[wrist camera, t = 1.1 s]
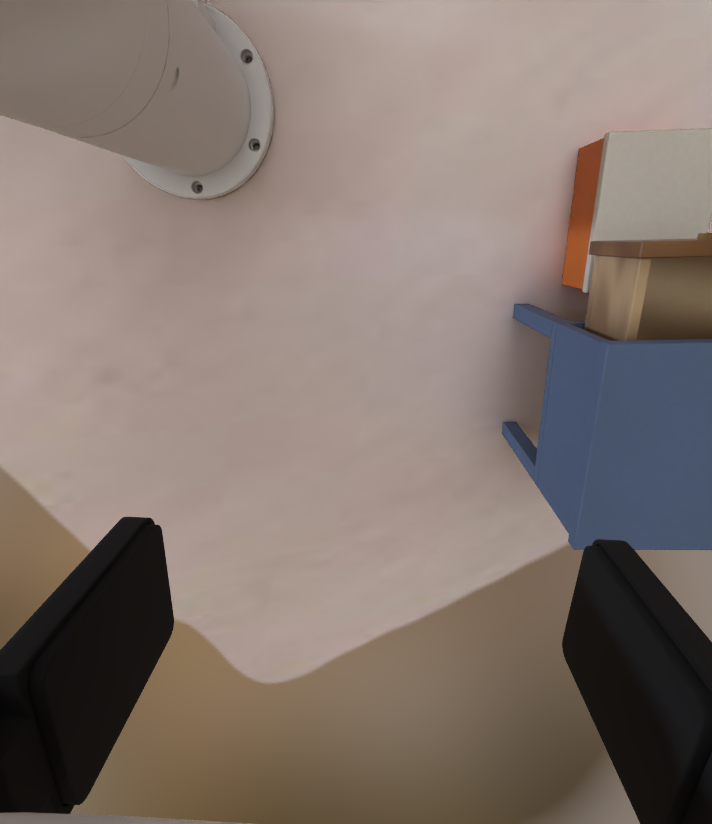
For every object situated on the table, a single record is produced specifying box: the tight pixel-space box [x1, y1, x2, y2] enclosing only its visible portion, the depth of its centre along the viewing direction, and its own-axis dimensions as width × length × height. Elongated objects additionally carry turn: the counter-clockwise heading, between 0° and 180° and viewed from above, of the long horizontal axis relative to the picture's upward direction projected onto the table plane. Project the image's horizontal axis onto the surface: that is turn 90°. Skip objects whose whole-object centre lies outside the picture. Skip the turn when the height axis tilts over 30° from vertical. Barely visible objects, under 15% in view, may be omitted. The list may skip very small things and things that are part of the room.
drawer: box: [584, 233, 712, 341], centre depth 27 cm, size 10×13×6 cm
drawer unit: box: [502, 304, 712, 550], centre depth 33 cm, size 12×15×17 cm
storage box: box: [562, 128, 712, 293], centre depth 34 cm, size 10×8×5 cm
